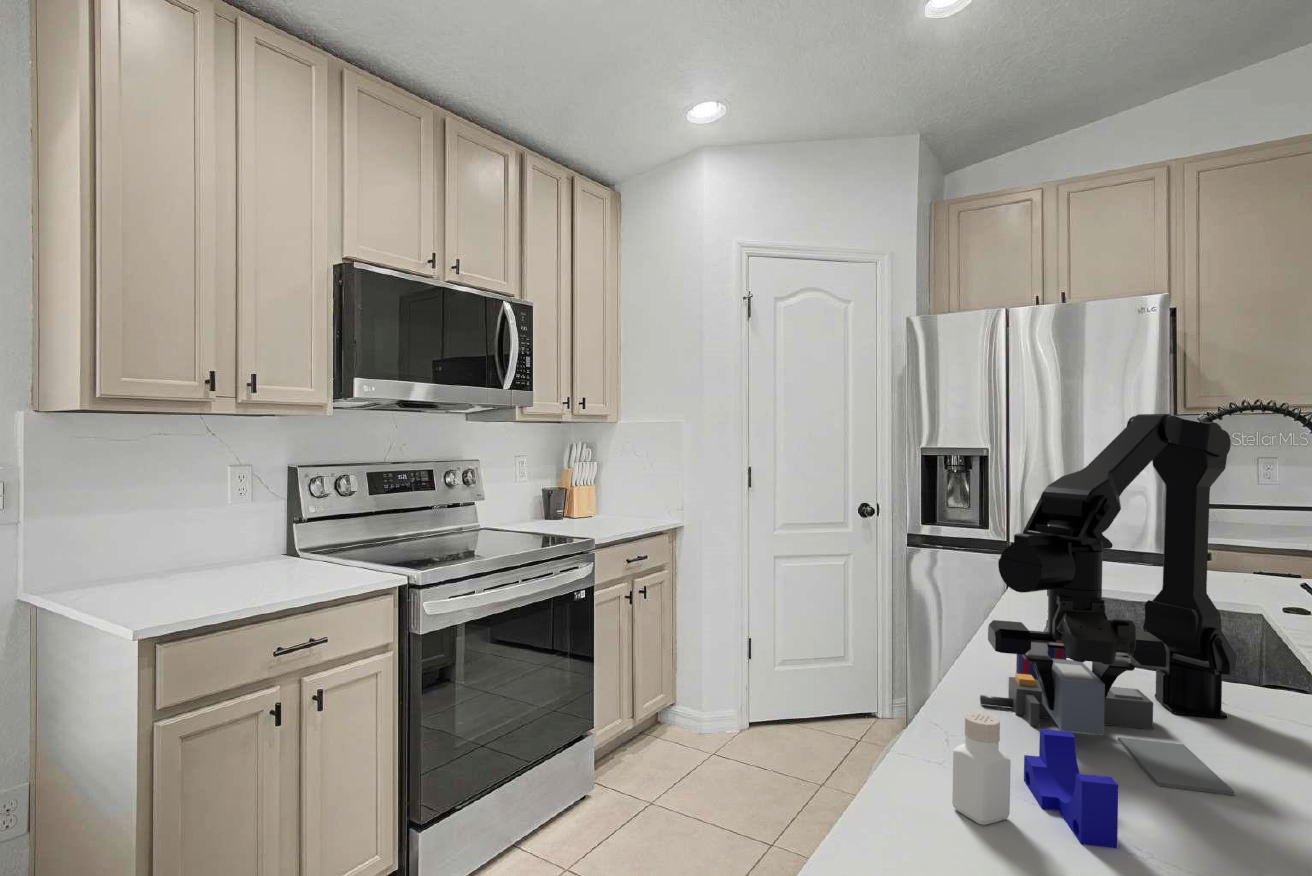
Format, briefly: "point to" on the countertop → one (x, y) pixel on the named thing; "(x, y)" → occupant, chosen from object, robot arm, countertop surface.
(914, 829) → the countertop surface
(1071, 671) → the block
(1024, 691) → the power strip
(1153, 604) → the robot arm
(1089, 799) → the cable clip
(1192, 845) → the countertop surface
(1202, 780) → the mat
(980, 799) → the pepper shaker
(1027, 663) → the mug
